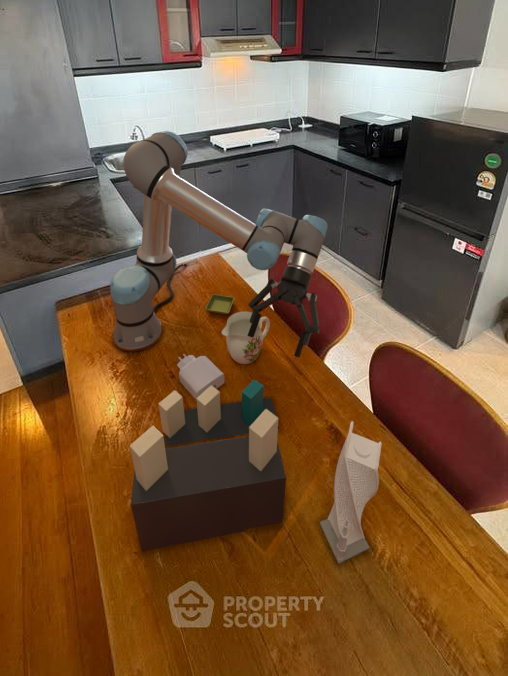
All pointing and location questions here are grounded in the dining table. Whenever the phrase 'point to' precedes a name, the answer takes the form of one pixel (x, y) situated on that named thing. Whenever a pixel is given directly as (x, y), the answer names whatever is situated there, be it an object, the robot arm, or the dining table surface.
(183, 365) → the charger
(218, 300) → the green square dish
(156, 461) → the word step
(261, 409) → the upright teal pillar
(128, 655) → the dining table surface
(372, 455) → the skyscraper
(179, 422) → the dark grey block
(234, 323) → the pitcher
